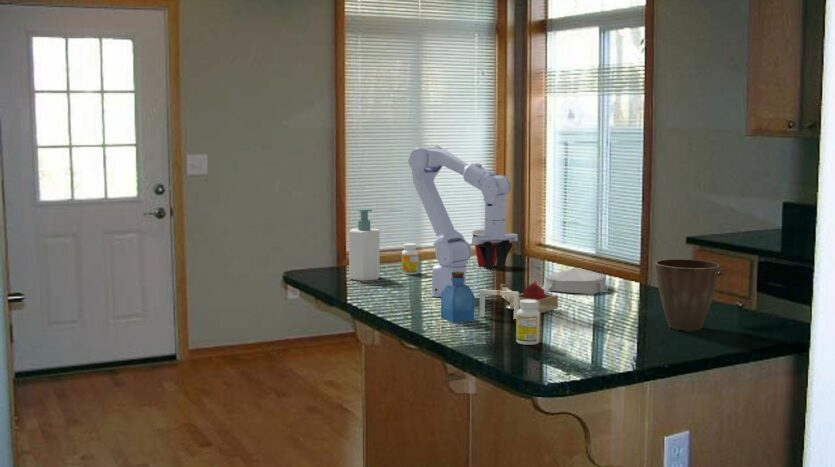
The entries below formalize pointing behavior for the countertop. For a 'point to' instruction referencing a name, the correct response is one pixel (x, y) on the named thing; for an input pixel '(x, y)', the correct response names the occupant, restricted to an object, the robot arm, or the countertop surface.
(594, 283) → the food container
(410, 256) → the supplement bottle
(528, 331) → the supplement bottle
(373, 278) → the soap bottle
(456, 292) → the perfume bottle
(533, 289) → the onion
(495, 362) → the countertop surface
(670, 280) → the plant pot
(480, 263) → the plastic cup
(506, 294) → the white goalpost frame
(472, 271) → the countertop surface
